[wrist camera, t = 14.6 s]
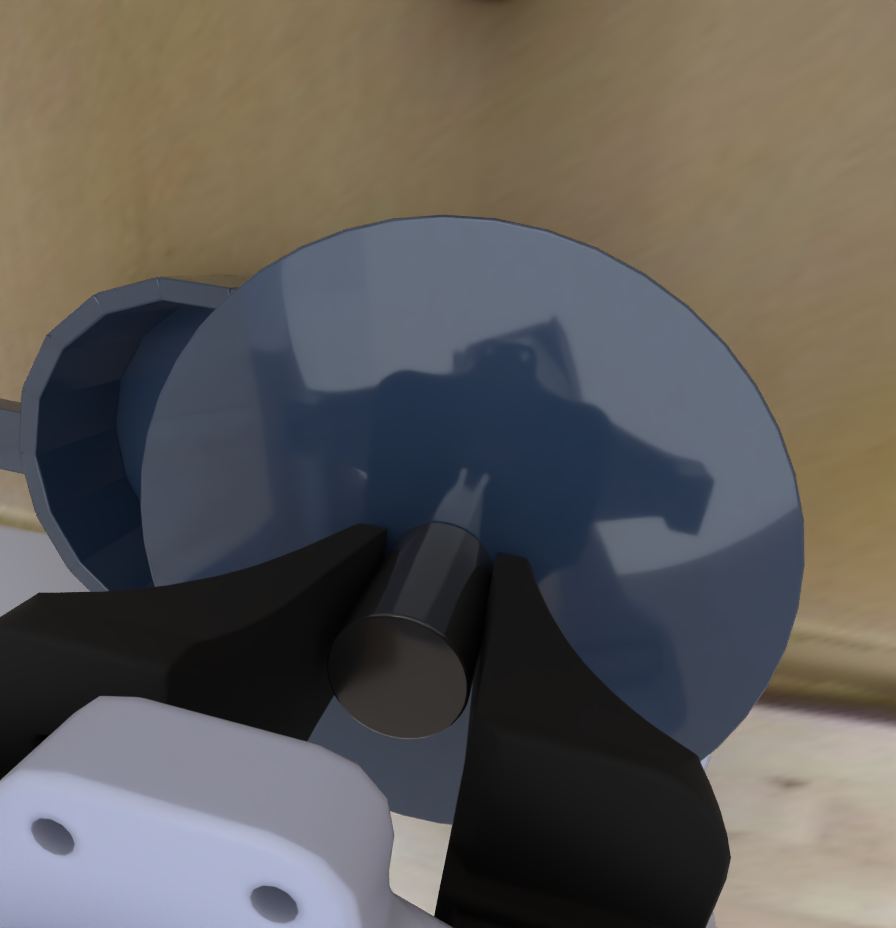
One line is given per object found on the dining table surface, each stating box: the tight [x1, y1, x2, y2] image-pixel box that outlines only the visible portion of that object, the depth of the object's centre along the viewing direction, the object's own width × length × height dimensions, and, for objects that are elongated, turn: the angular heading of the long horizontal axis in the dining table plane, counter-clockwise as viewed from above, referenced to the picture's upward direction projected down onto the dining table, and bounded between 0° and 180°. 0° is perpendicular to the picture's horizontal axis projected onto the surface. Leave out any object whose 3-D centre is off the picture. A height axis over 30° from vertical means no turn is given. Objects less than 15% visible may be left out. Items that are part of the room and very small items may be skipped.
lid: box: [140, 215, 804, 825], centre depth 12 cm, size 14×14×5 cm
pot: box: [0, 275, 250, 592], centre depth 22 cm, size 13×19×4 cm
